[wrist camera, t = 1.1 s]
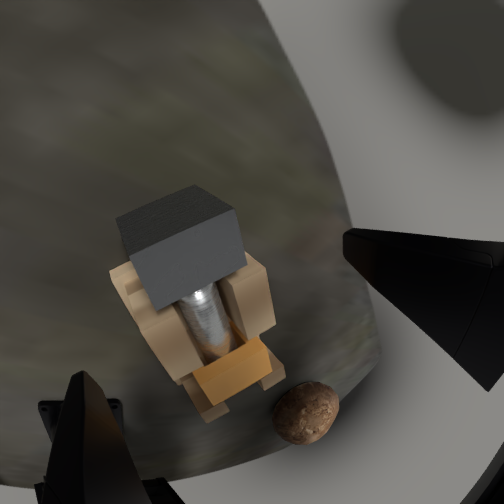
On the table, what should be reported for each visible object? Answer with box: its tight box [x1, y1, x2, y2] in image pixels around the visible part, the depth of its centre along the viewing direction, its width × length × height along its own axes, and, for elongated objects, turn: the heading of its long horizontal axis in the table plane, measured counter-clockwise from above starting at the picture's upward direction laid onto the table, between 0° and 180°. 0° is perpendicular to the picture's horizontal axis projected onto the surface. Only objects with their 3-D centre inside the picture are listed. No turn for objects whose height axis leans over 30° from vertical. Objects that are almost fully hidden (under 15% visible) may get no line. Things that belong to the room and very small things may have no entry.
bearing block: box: [109, 252, 286, 423], centre depth 16 cm, size 10×7×5 cm
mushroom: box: [272, 382, 339, 445], centre depth 30 cm, size 8×8×6 cm
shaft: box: [116, 185, 248, 365], centre depth 14 cm, size 12×4×4 cm, turn 13°
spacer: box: [192, 321, 272, 406], centre depth 16 cm, size 2×4×3 cm, turn 103°
